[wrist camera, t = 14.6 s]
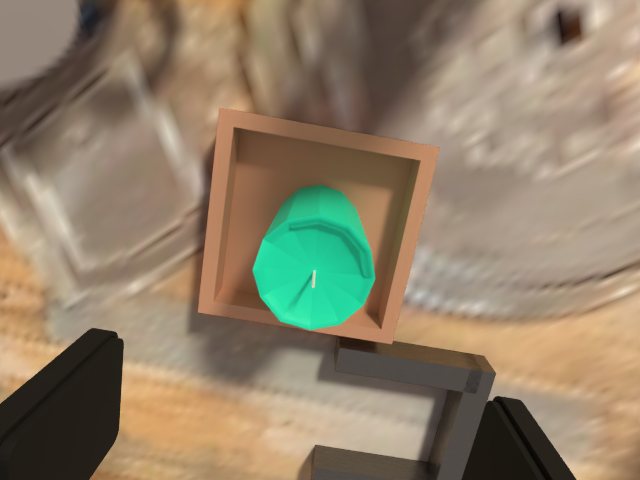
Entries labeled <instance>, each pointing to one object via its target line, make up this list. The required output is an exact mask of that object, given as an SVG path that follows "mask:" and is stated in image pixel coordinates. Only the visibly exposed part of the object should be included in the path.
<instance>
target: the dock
mask: <svg viewBox="0 0 640 480" xmlns="http://www.w3.org/2000/svg"><path fill="white" fill-rule="evenodd" d="M334 361H335V371H337V372H343V373H349V374H355V375H361V376H368V377H374V378H380V379H386V380H392V381H399V382H405V383H411V384H417V385H423V386H430V387H436V388H442V389H448V390H449V392H448V395H447V398H446V402H445V405H444V409H443V412H442V416H441V419H440V422H439V426H438V429H437V433H436V436H435V439H434V443H433V446H432V450H431V453H430V457H429V460H428V462H422V461H415V460H409V459H403V458H396V457H390V456H383V455H377V454H370V453H364V452H357V451H351V450H345V449H338V448H332V447H325V446H319V445H316V446H315V450H314V455H313V460H312V471H311V480H461V479H462V476H463V473H464V470H465V467H466V464H467V461H468V457H469V454H470V451H471V448H472V445H473V442H474V439H475V436H476V433H477V430H478V427H479V423H480V420H481V417H482V414H483V411H484V408H485V405H486V403H487V400H488V397H489V394H490V391H491V388H492V385H493V381H494V378H495V375H496V373H495V371H494V370H493V368H492V367H491V365H490V364H489V362H488V361H487V360H486V358H485V357H484V356H481V355H475V354H469V353H463V352H457V351H451V350H445V349H439V348H432V347H426V346H420V345H414V344H408V343H402V342H396V341H393V343H392V344H387V343H381V342H375V341H369V340H363V339H357V338H350V337H344V336H338V338H337V343H336V348H335V353H334Z"/></svg>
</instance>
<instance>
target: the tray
mask: <svg viewBox="0 0 640 480" xmlns="http://www.w3.org/2000/svg"><path fill="white" fill-rule="evenodd" d="M439 150H440V147H435V146H430V145H424V144H419V143H413V142H408V141H402V140H396V139H391V138H385V137H380V136H374V135H369V134H363V133H358V132H352V131H347V130H341V129H336V128H330V127H324V126H319V125H313V124H308V123H302V122H297V121H291V120H286V119H280V118H275V117H269V116H263V115H258V114H252V113H247V112H241V111H236V110H230V109H224V108H219V117H218V126H217V136H216V145H215V154H214V164H213V173H212V183H211V192H210V202H209V211H208V220H207V230H206V239H205V249H204V258H203V267H202V277H201V286H200V296H199V305H198V313H204V314H210V315H217V316H223V317H229V318H235V319H241V320H247V321H253V322H259V323H265V324H271V325H277V326H283V327H290V328H296V329H302V330H308V329H304V328H301V327H297V326H294V325H290V324H287V323H284V322H280V321H279V319H278V318H277V317H276V316H275V314H274V313H273V312H272V311H271V310H270V308H269V307H268V306H267V305H266V303H265V302H264V301H263V300H262V299H261V297H260V294H259V291H258V287H257V284H256V281H255V277H254V274H253V267H254V264H255V261H256V258H257V255H258V252H259V249H260V246H261V243H262V240H263V238H264V236H265V234H266V233H267V231H268V229H269V227H270V225H271V224H272V222H273V220H274V218H275V216H276V215H277V213H278V211H279V209H280V207H281V206H282V204H283V202H284V201H286V200H287V199H288V198H289V197H290V196H291V195H292V194H294V193H295V192H296V191H297V190H298V189H299V188H304V187H310V186H315V185H324V186H327V187H330V188H333V189H335V190H338V191H341V192H342V193H343V194H344V195H345V196H346V197H347V199H348V200H349V201H350V202H351V203H352V204H353V206H354V207H355V208H356V210H357V213H358V216H359V219H360V221H361V224H362V227H363V230H364V232H365V235H366V238H367V240H368V243H369V246H370V249H371V253H372V260H373V266H374V273H375V281H374V283H373V286H372V288H371V290H370V292H369V295H368V297H367V299H366V301H365V304H364V305H363V306H362V307H361V308H360V309H359V310H357V311H356V312H355V313H354V314H353V315H351V316H350V317H349V318H348V319H346V320H345V321H344V322H343V323H342V324H340V325H336V326H330V327H325V328H319V329H313V330H308V331H314V332H320V333H326V334H332V335H338V336H344V337H350V338H357V339H363V340H369V341H375V342H381V343H387V344H392V343H393V339H394V334H395V330H396V326H397V322H398V318H399V314H400V310H401V306H402V302H403V298H404V293H405V289H406V285H407V281H408V277H409V273H410V269H411V265H412V261H413V256H414V252H415V248H416V244H417V240H418V236H419V232H420V228H421V224H422V220H423V215H424V211H425V207H426V203H427V199H428V195H429V191H430V187H431V183H432V178H433V174H434V170H435V166H436V162H437V158H438V154H439Z"/></svg>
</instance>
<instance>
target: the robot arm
mask: <svg viewBox="0 0 640 480" xmlns="http://www.w3.org/2000/svg"><path fill="white" fill-rule="evenodd" d="M123 349H124V342H123V340H122V339H120V338H118V335H117V333H116V332H114V331H108V330H102V329H96V328H91V329H90V330H88V331H87V332H86V333H85V334H83V335H82V336H81V337H80V338H79V339H77V340H76V341H75V342H74V343H73V344H71V345H70V346H69V347H68V348H67V349H66V350H64V351H63V352H62V353H61V354H60V355H58V356H57V357H56V358H55V359H54V360H52V361H51V362H50V363H49V364H48V365H47V366H45V367H44V368H43V369H42V370H41V371H39V372H38V373H37V374H36V375H35V376H33V377H32V378H31V379H30V380H28V381H27V382H26V383H25V384H24V385H22V386H21V387H20V388H19V389H18V390H16V391H15V392H14V393H13V394H12V395H10V396H9V397H8V398H7V399H6V400H4V401H3V402H2V403H1V404H0V480H89V479H90V478H91V476H92V475H93V473H94V472H95V470H96V469H97V467H98V466H99V464H100V463H101V462H102V460H103V459H104V457H105V456H106V454H107V453H108V451H109V450H110V448H111V447H112V446H113V444H114V442H115V440H116V438H117V435H118V431H119V419H120V402H121V384H122V366H123ZM461 480H576V478H575V477H574V475H573V474H572V472H571V471H570V469H569V468H568V467H567V465H566V464H565V462H564V461H563V459H562V458H561V457H560V455H559V454H558V452H557V451H556V449H555V448H554V447H553V445H552V444H551V442H550V441H549V439H548V438H547V436H546V435H545V434H544V432H543V431H542V429H541V428H540V426H539V425H538V424H537V422H536V421H535V419H534V418H533V416H532V415H531V413H530V412H529V411H528V409H527V408H526V406H525V405H524V403H523V402H522V401H521V400H518V399H512V398H506V397H500V396H497V397H495V398H494V399H493V401H488V402H487V403H486V405H485V408H484V411H483V414H482V417H481V420H480V423H479V427H478V430H477V433H476V436H475V439H474V442H473V445H472V448H471V451H470V454H469V457H468V461H467V464H466V467H465V470H464V473H463V476H462V479H461Z"/></svg>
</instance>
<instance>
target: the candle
mask: <svg viewBox="0 0 640 480" xmlns="http://www.w3.org/2000/svg"><path fill="white" fill-rule="evenodd" d="M253 274H254V277H255V281H256V284H257V287H258V291H259V294H260V297H261V299H262V300H263V301H264V302H265V303H266V305H267V306H268V307H269V308H270V310H271V311H272V312H273V313H274V314H275V316H276V317H277V318H278V319H279V321H280V322H284V323H287V324H290V325H294V326H297V327H301V328H304V329H308V330H313V329H319V328H325V327H330V326H336V325H340V324H342V323H343V322H344V321H345V320H346V319H348V318H349V317H350V316H351V315H353V314H354V313H355V312H356V311H357V310H359V309H360V308H361V307H362V306H363V305H364V304H365V301H366V299H367V297H368V295H369V292H370V290H371V288H372V286H373V283H374V281H375V273H374V266H373V260H372V253H371V249H370V246H369V243H368V240H367V238H366V235H365V232H364V230H363V227H362V224H361V221H360V219H359V216H358V213H357V210H356V208H355V207H354V206H353V204H352V203H351V202H350V201H349V200H348V199H347V197H346V196H345V195H344V194H343V193H342V192H341V191H338V190H335V189H333V188H330V187H327V186H324V185H315V186H310V187H304V188H299V189H298V190H297V191H296V192H295V193H294V194H292V195H291V196H290V197H289V198H288V199H287V200H286V201H284V202H283V204H282V206H281V207H280V209H279V211H278V213H277V215H276V216H275V218H274V220H273V222H272V224H271V225H270V227H269V229H268V231H267V233H266V234H265V236H264V238H263V240H262V243H261V246H260V249H259V252H258V255H257V258H256V261H255V264H254V267H253Z"/></svg>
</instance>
